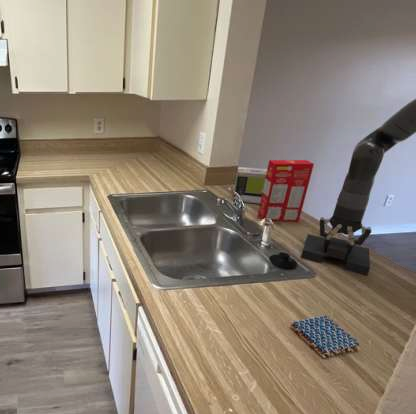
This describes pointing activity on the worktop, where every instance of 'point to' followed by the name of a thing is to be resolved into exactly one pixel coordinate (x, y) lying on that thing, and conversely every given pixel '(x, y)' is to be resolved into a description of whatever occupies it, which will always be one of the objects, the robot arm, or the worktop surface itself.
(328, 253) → the plug pad
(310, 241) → the socket pad
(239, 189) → the tea box
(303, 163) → the food packaging
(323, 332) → the woven mat
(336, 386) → the worktop surface
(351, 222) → the robot arm
